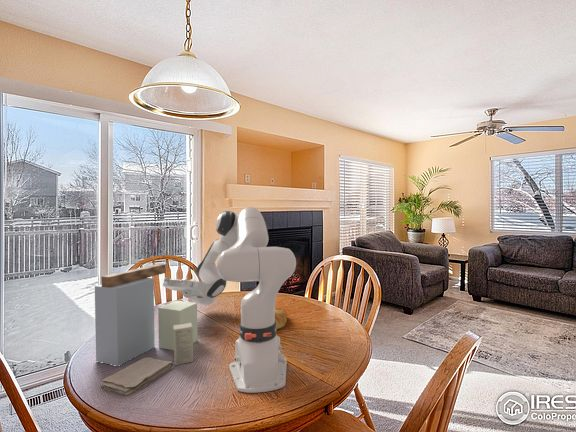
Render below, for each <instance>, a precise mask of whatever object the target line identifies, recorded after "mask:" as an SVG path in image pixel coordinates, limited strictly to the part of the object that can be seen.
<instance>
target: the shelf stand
mask: <svg viewBox="0 0 576 432" xmlns="http://www.w3.org/2000/svg"><path fill="white" fill-rule="evenodd" d="M154 279H155V278H153V277H148V278H144V279H140V280H137V281H133V282H129V283H125V284H121V285H117V286H114V287H110V288H108V287H102V283H101V284H97V285H95V286H94V311H95V312H94V319H95V321H94V322H95V325H94V326H95V362H96V361H98V362H103V363H106V364H112V365H116V366H119V365H121V364H123V363H124V364H126V363H128V362H129V361H128V360H130V359H132V358H134V357H135V358H137V357H139V356H141V355H143V354H144V352H145V353H146V352H148V351H150V350H152V349H154V348H155V346H156V343H155V338H156V337H155V335H156V334H155V288H154V287H155V285H154V284H155V283H154V282H155V281H154ZM142 353H143V354H142ZM140 354H141V355H140ZM138 355H139V356H138ZM136 356H137V357H136ZM135 358H134V359H135ZM132 360H133V359H132ZM127 361H128V362H127ZM130 361H131V360H130ZM98 362H97V363H98ZM125 362H126V363H125ZM106 364H105V365H106ZM124 364H123V365H124ZM121 366H122V365H121ZM119 367H120V366H119Z"/></svg>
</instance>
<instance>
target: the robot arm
mask: <svg viewBox="0 0 576 432" xmlns="http://www.w3.org/2000/svg"><path fill="white" fill-rule="evenodd" d="M268 230H269V227H268V224H267V222H266V221H265V218H264V216H263V215H262V213H261V211H260V210H259V209H258V208H256V207H253V206H249V207H244V208H243V209H241V211H240V212H233V211H232V210H225V211H221V212H220V213H219V215H218V216H217V218H216V221H215V231H216V232H217V234H219V235H220V236H219V238H216V239H215V240H214V241H213V242H212V243H211V244H210V246H209V248H208V250H207V252H206V254H205V255H204V257H203V259H202V260H201V262H200V263H199V264H198V265H197V267H196V271H195V274H196V276H197V277H198V279H200V280H197V279H185V278H182V279H178V278H177V279H176V278H175V279H173V278H169V277H164V278H163V282H162V287H164V288H166V289H169V290H172V291H175V292H176V291H177V292H181V294H182V296H183V297H184V298H186V299H188V300H190V301H191V302H192V301H193V302H194V303H197V304H199V305H201V306H202V305H203V306H209V305H210V306H211V305H212V304H213V303H214V302H215V301H216V300H217V297H218V296H219V295H221V294H222V293H223V292H224V290H225V289H226V287H227V282H232V283H233V282H235V283H244V282H245V283H246V282H247V283H248V282H249V283H250V282H259V283H258V284H257V286H256V287H255V288H254V289H253V290H251V291H249V292H248V293H246V294H245V295H244V296H243V297H242V299H241V301H240V323H239V328H238V329H239V330H238V331H239V337H238V338H237V339H236V340H235V346H234V347H235V351H234V352H235V353H234V354H235V357H234V361H232V362H231V363H229V366H228V369H229V371H230V374H231V376H232V379H233V382H234V385H235V387H236V390H237V391H238V392H241V393H247V394H248V393H249V394H250V393H251V394H253V393H266V392H271V391H276V390H279V389H281V388H284V387H286V382H287V381H286V380H287V368H288V367H287V366H288V365H287V364H288V363H287V361H288V360H287V358H285V354H284V353H281V351H282V350H283V345H282V344H281V337H280V336H279V335H277V330H278V329H277V327H276V321H275V309H276V300H277V296H278V293H279V291H280V289H281V287H282V286H283V285H284V283H285V282H286V281H287V280H288V279H289V278H290V277H291V276H292V275H293V274H294V273H295V271H296V267H297V258H296V257H295V256H296V255H295V254H294V252H293V251H292V250H291V249H290V248H288V247H287V248H286V247H281V246H268V243H269V240H270V239H269V233H268Z"/></svg>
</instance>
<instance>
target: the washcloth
mask: <svg viewBox="0 0 576 432" xmlns="http://www.w3.org/2000/svg"><path fill="white" fill-rule="evenodd" d="M174 366H175V364H174V362H173V361H171V360H164V359H163V360H162V359H158V358H154V357H148V356H146V357H144V358H141V359H139V360H138V361H136V362H134V363H132V364H129V365H127V366H125V367H123V369H120V370H118V371H116V372H114V373H113V374H111V375H109V376H107V377H105V378H103V379H102V380H101V386H100V388H101V387H102V388H103V389H104V390H105V391H108V390H109V391H108V392H111V391H112V392H111V393H115V392H116V393H115V394H118V395H121V396H129V395H130V394H133V393H135V392H137V391H139V390H140V389H142V388H143V387H145V386H147V385H149V384H150V383H151V382H153V381H154V380H157V378H159V377H161V376H162V375H163V374H165V373H167V372H168V371H170V370H172V369H173V367H174Z"/></svg>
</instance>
